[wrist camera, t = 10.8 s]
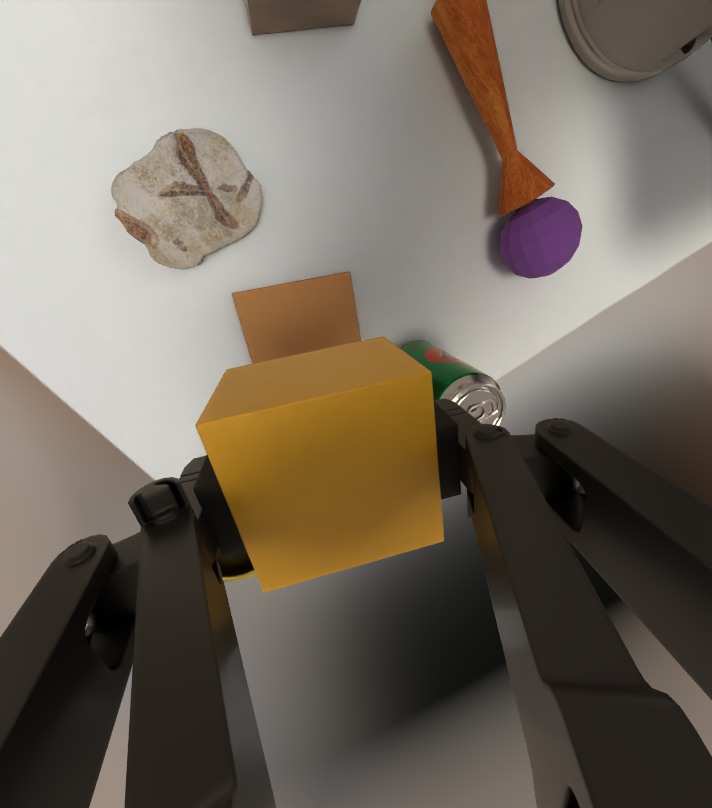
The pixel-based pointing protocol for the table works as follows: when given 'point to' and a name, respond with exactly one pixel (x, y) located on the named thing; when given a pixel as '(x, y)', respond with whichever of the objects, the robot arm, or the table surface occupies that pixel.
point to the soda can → (460, 383)
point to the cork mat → (298, 317)
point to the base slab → (299, 14)
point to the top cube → (326, 458)
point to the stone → (187, 197)
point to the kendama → (508, 148)
